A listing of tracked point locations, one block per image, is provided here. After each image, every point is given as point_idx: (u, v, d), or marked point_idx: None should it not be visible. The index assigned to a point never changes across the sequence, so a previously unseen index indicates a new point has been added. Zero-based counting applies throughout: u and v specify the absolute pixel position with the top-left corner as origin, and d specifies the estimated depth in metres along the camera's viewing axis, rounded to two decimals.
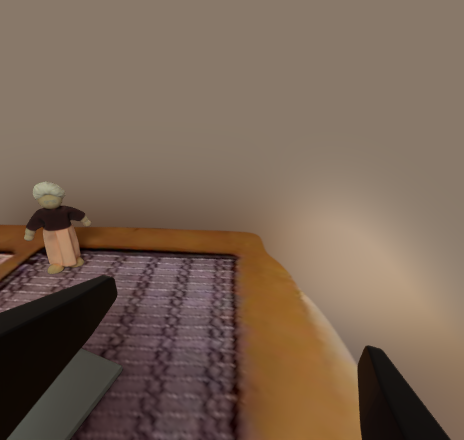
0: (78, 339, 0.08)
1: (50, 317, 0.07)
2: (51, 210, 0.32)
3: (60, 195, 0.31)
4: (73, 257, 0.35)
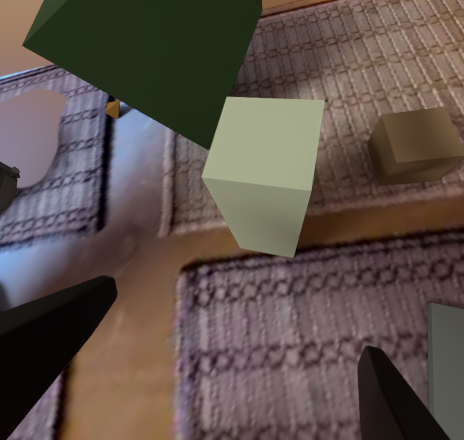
0: (78, 339, 0.08)
1: (51, 317, 0.07)
2: None
3: None
4: None
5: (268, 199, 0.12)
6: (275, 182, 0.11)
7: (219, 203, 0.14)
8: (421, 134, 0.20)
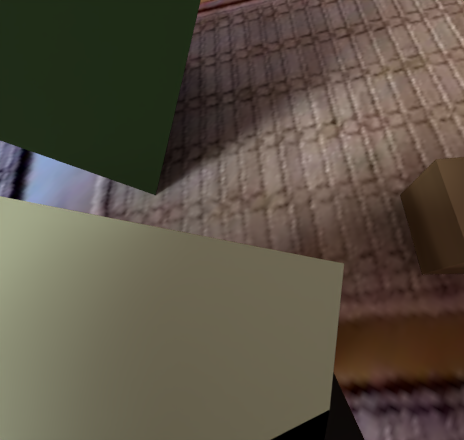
0: None
1: None
2: None
3: None
4: None
5: None
6: None
7: None
8: None
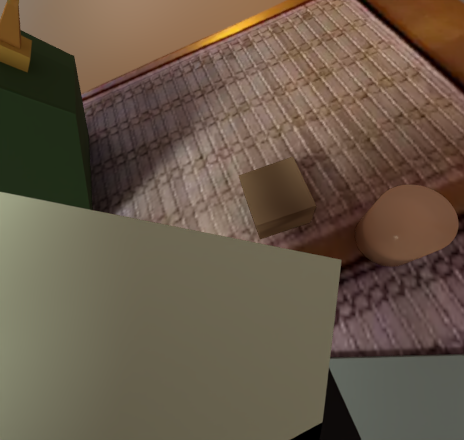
0: None
1: None
2: None
3: None
4: None
5: None
6: None
7: None
8: (275, 190, 0.20)
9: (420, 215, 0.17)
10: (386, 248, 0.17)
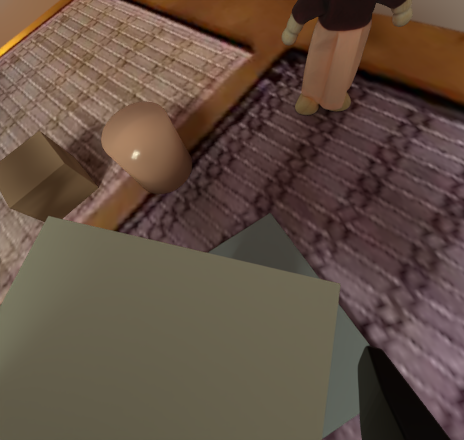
0: None
1: None
2: None
3: None
4: (343, 96, 0.18)
5: None
6: None
7: None
8: (25, 167, 0.19)
9: (138, 126, 0.17)
10: (129, 169, 0.17)
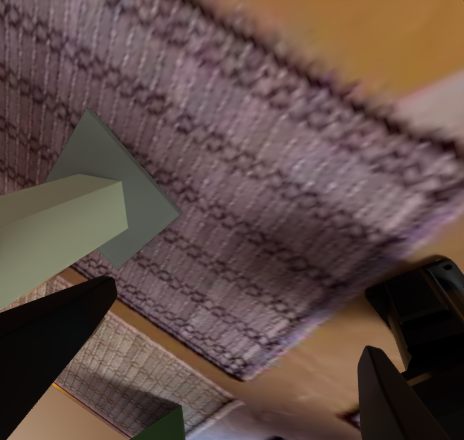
0: (78, 339, 0.08)
1: (51, 317, 0.07)
2: None
3: None
4: None
5: None
6: None
7: (24, 290, 0.16)
8: None
9: None
10: None
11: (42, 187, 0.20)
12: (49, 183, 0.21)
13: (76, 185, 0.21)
